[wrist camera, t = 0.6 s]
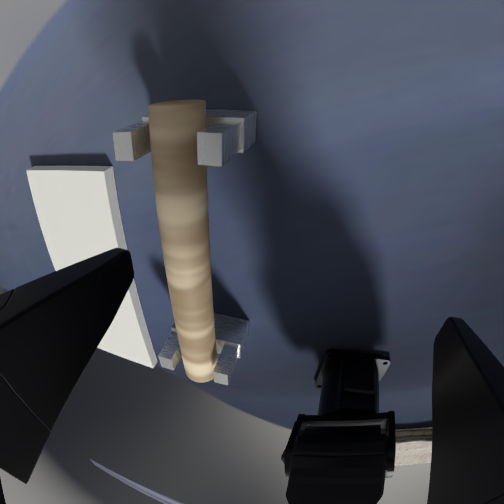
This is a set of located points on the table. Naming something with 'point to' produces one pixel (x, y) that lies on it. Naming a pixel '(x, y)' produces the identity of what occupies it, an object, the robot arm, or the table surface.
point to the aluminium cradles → (212, 154)
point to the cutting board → (90, 241)
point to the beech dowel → (185, 228)
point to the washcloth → (413, 446)
